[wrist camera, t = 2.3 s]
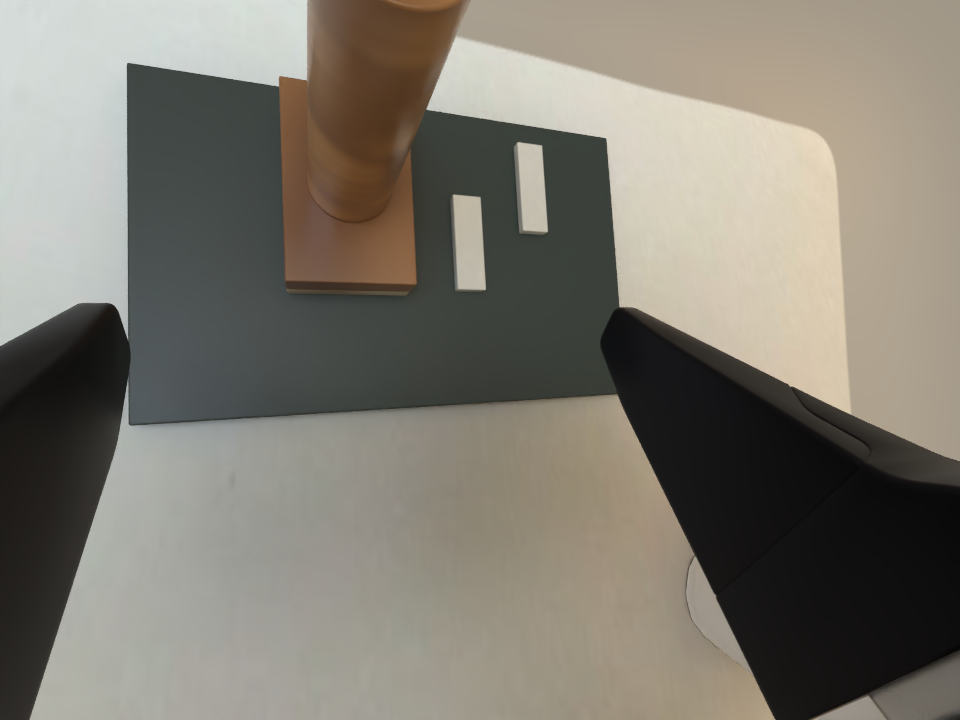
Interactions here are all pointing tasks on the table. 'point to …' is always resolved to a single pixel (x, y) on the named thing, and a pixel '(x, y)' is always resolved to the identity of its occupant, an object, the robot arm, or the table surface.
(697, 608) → the foam cup
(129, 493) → the table surface
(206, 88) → the board
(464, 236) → the chalk streak
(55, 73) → the table surface
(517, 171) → the chalk streak
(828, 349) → the table surface
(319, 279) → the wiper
